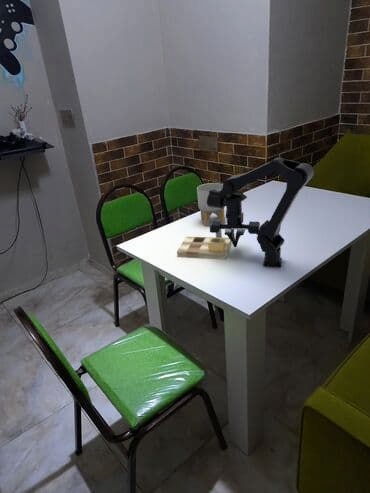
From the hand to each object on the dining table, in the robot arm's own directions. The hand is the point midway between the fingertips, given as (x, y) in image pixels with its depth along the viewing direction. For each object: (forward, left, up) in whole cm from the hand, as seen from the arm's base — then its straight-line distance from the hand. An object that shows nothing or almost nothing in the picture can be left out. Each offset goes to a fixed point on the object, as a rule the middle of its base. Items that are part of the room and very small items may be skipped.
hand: (235, 246), depth 136 cm
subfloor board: (+3, +13, -4) cm, 14 cm away
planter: (+33, +16, -4) cm, 37 cm away
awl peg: (+13, +9, -4) cm, 16 cm away
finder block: (0, +7, -1) cm, 7 cm away
